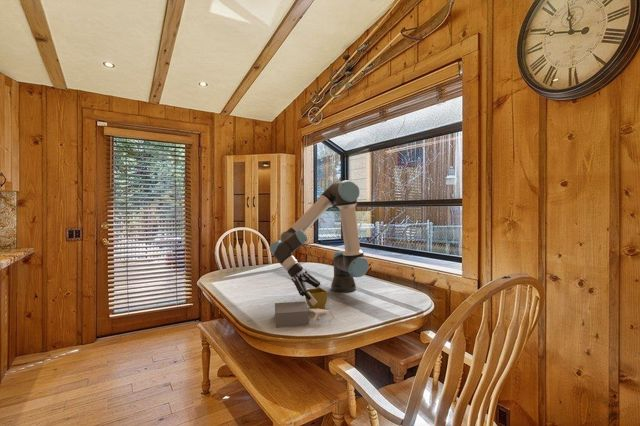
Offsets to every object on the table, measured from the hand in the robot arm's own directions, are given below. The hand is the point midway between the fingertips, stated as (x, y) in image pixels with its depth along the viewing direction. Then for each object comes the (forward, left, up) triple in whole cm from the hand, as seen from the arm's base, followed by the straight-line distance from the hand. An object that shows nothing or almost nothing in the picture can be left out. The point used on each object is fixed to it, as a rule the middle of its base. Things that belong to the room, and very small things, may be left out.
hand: (320, 300), depth 151 cm
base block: (+15, +12, -5) cm, 20 cm away
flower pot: (+2, -1, -5) cm, 5 cm away
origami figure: (+3, +16, -5) cm, 16 cm away
